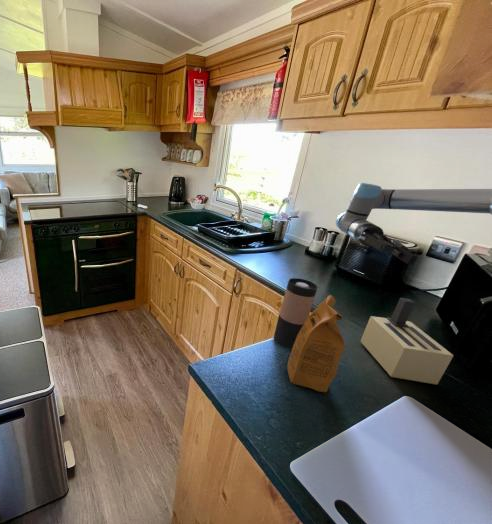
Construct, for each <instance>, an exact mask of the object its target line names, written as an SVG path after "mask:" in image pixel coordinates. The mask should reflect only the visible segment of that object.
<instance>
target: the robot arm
mask: <svg viewBox="0 0 492 524" xmlns="http://www.w3.org/2000/svg"><path fill="white" fill-rule="evenodd" d="M376 209H377V210H402V211H404V210H405V211H424V212H425V211H426V212H449V213H468V214H469V213H473V214H490V215H491V216H492V188H411V189H409V188H404V189H403V188H402V189H401V188H399V189H397V188H395V189H394V188H392V189H389V188H388V189H387V188H382V186H380V185H377V184H372V183H367V182H361V183H359V184H358V185H357V186H356V188H355V190H354V192H353V195H352V196H351V199H350V201H349V204H348V206H347V208H346V210H345V211H344V212H341V213H340V214H339V215H338V216H337V217H336V219H335V225H336V227H337V228H338V229H339V230H340V231H341V232H342V233H345V234H346V235H348V236H349V237H351V238H353V239H354V241H355V242H358V243H359V244H361V245H363V246H365V247H372V248H374V249H376V250H378V251H380V252H382V253H387V254H386V256H388V257H391V256H394V257H395V258H397V259H398V260H400V261H402V262H403V263H405V264H406V265H410V266H413V265H414V264H415V263H416V260H417V259H418V256H417V255H416V254H414V253H412V252H410V251H409V250H410V248H409V247H407V246H406V245H404V244H403V243H402V242H401V241H400V240H399V239H393V240H392V238H391V237H388V236H387V235H386V234H385V233H384V230H383V228H382V227H380V226H379V225H377V224H375V223H373V222H371V221H368V220H367V219H368V218H369V217H370V214H371V212H372V211H373V210H376Z"/></svg>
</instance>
